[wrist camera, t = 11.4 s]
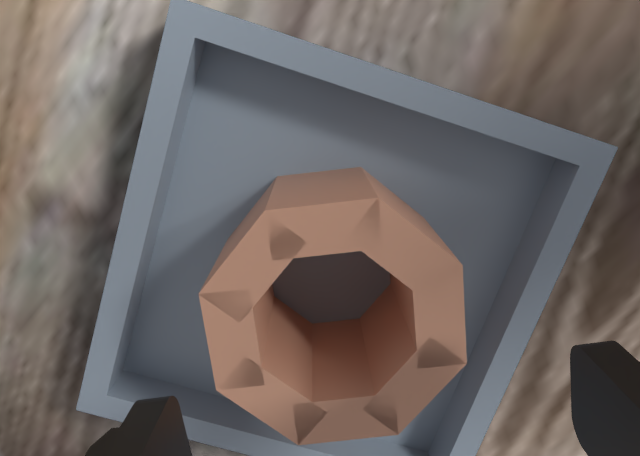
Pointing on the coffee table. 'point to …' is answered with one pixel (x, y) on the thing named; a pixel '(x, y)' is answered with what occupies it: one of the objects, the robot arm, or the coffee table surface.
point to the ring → (336, 336)
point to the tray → (334, 269)
